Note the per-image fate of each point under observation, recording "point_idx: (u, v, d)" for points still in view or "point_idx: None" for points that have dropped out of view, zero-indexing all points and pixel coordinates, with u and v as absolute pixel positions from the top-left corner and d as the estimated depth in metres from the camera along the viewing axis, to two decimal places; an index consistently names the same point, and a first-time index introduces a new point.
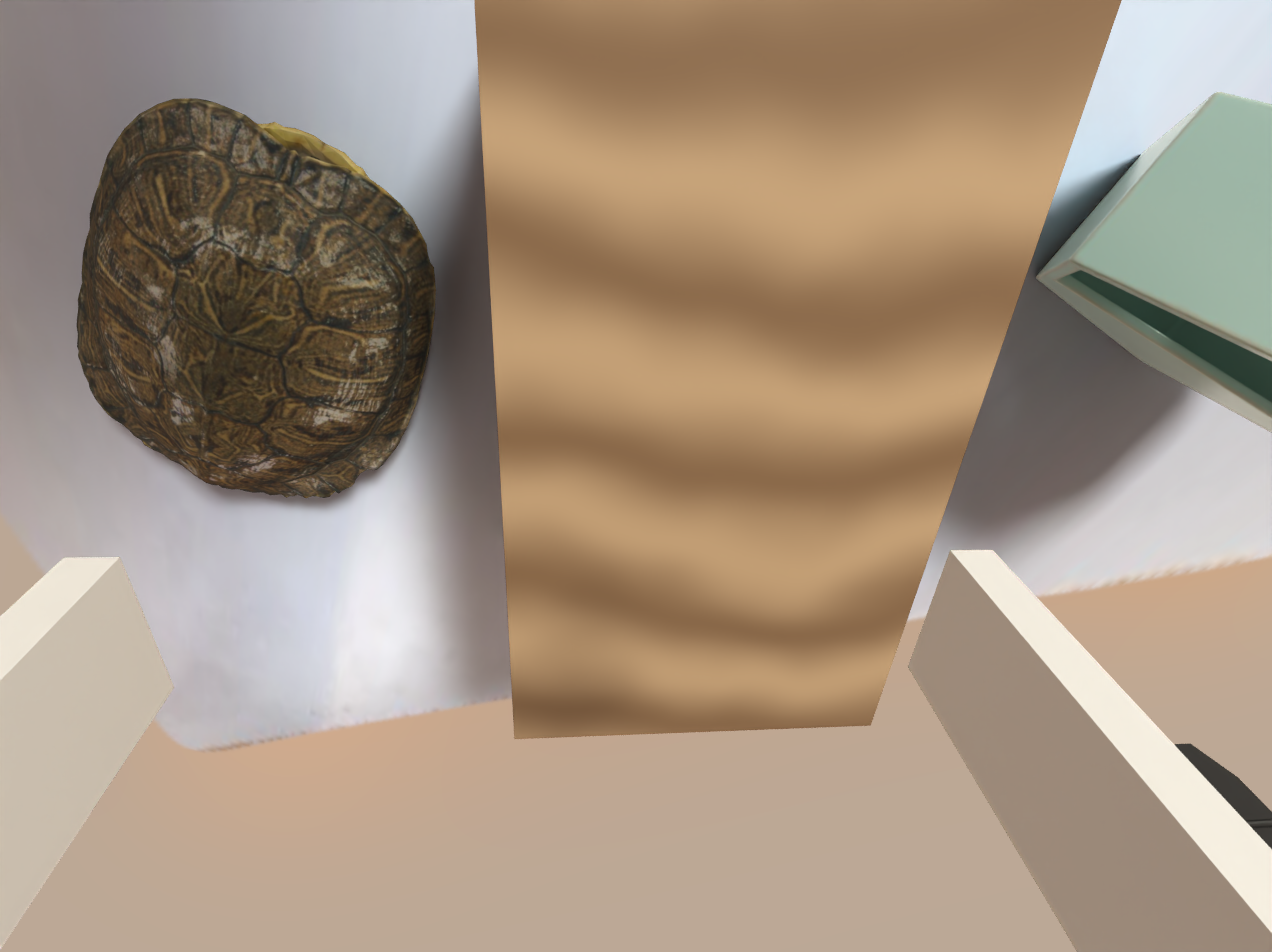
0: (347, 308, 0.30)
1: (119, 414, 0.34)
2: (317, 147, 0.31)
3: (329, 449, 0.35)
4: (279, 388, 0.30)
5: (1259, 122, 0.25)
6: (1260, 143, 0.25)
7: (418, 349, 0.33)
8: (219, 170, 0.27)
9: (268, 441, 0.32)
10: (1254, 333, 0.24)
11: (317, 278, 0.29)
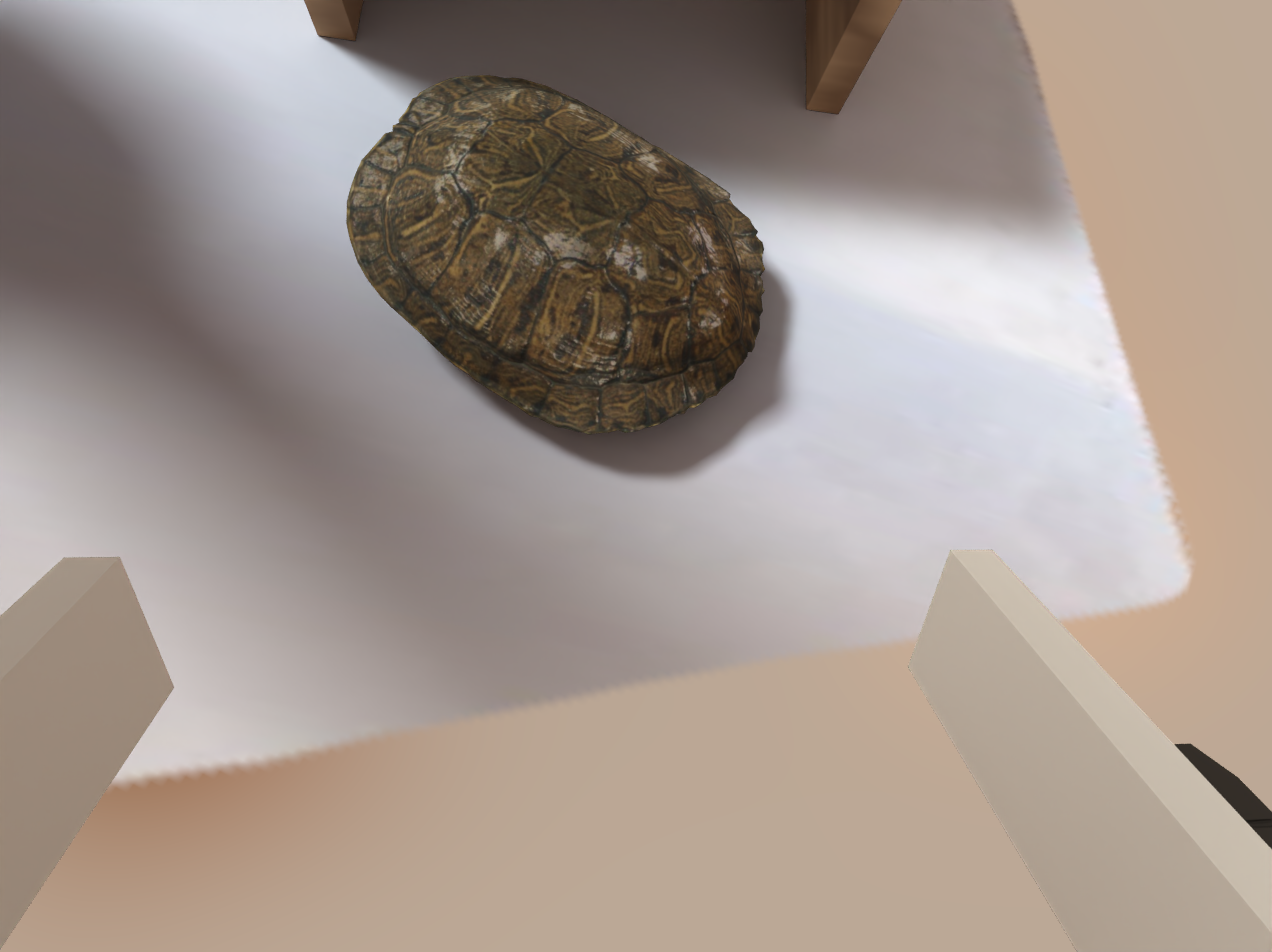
0: (533, 104, 0.30)
1: (655, 410, 0.31)
2: None
3: (695, 195, 0.32)
4: (607, 163, 0.29)
5: None
6: None
7: None
8: (400, 179, 0.29)
9: (671, 206, 0.30)
10: None
11: (499, 108, 0.29)
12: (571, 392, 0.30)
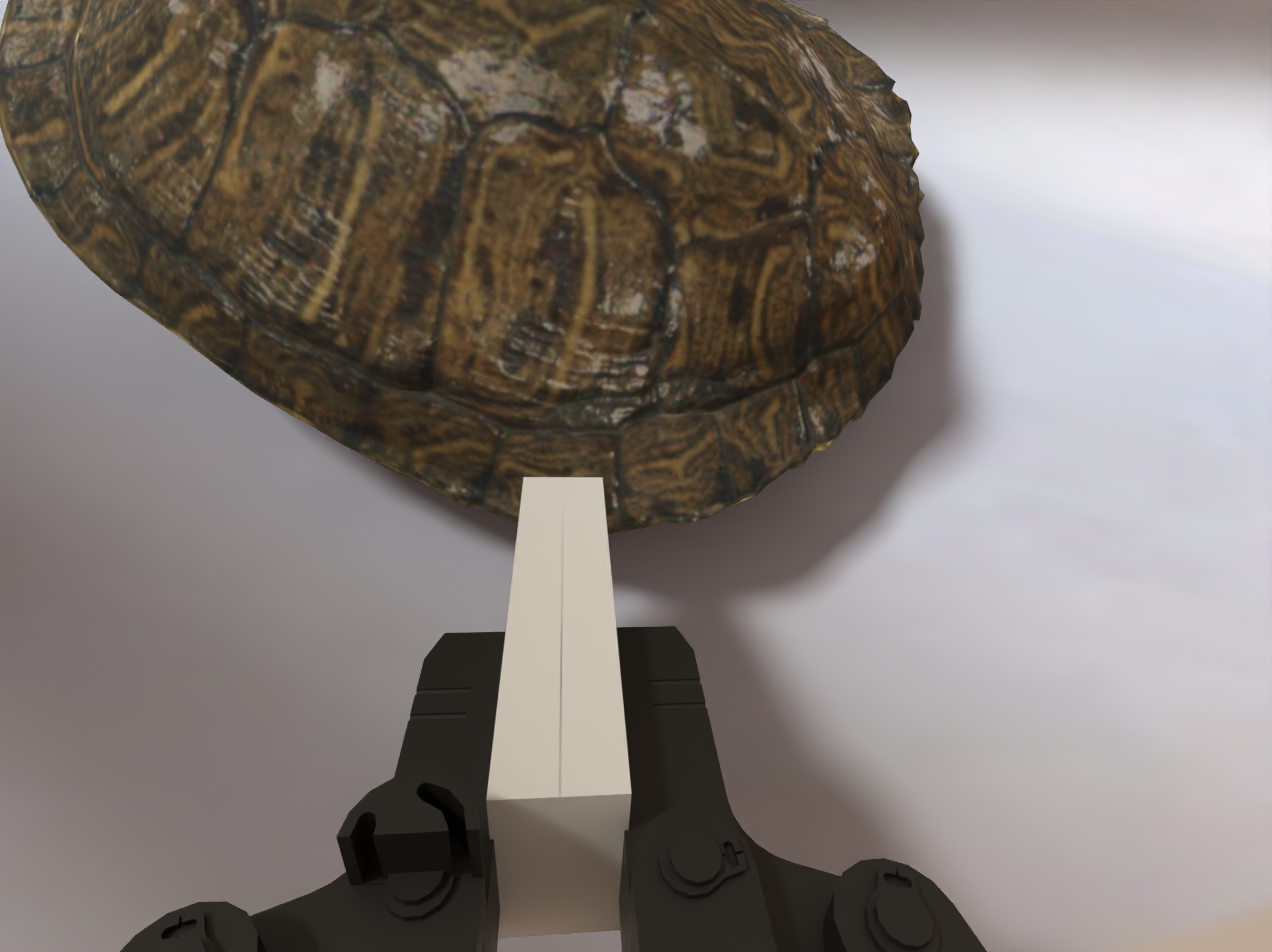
0: None
1: (743, 467, 0.14)
2: None
3: None
4: None
5: None
6: None
7: None
8: None
9: None
10: None
11: None
12: (550, 447, 0.13)
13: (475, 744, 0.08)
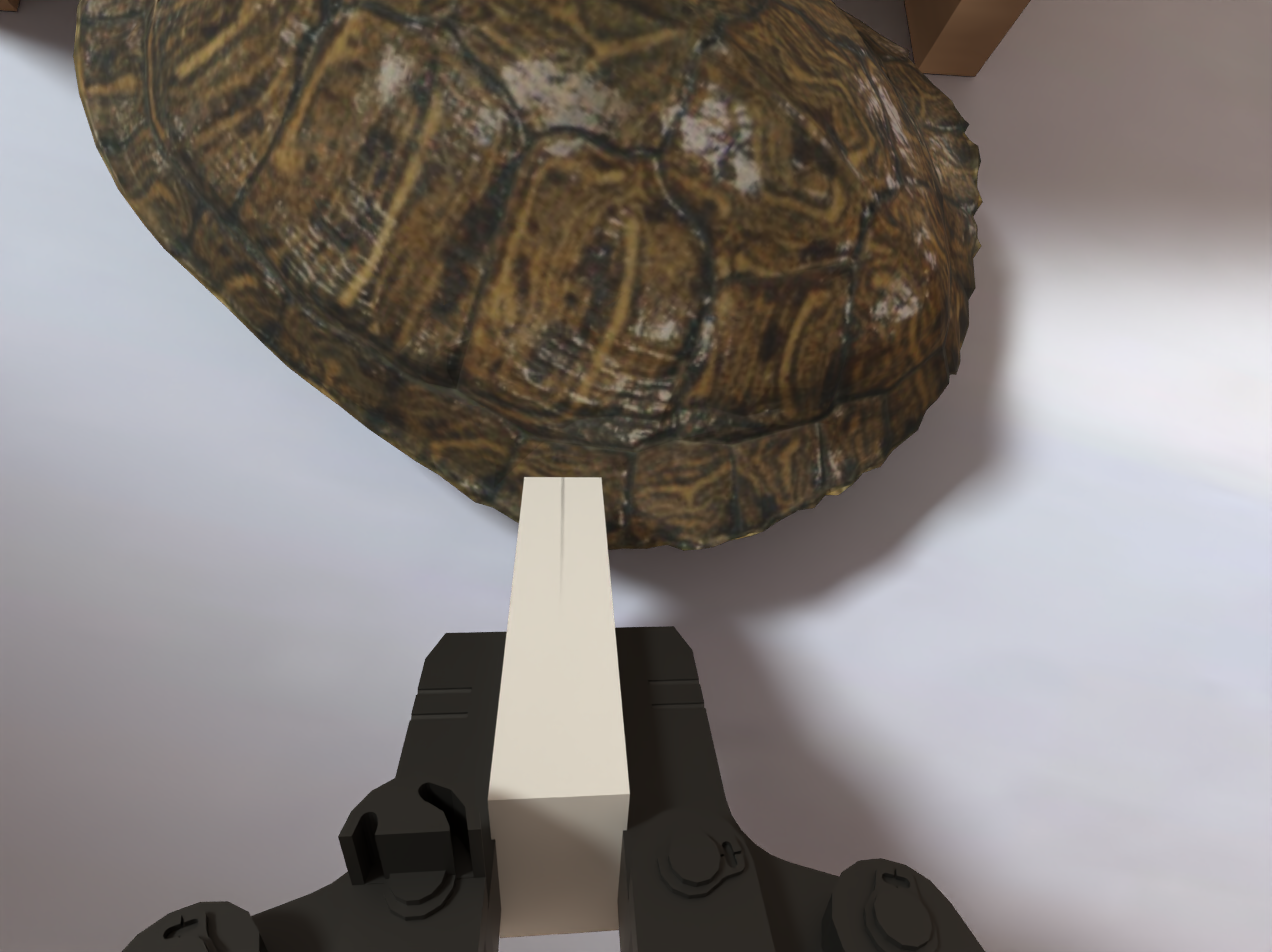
0: None
1: (754, 502, 0.14)
2: None
3: None
4: None
5: None
6: None
7: None
8: None
9: (819, 26, 0.12)
10: None
11: None
12: (565, 457, 0.13)
13: (477, 744, 0.08)
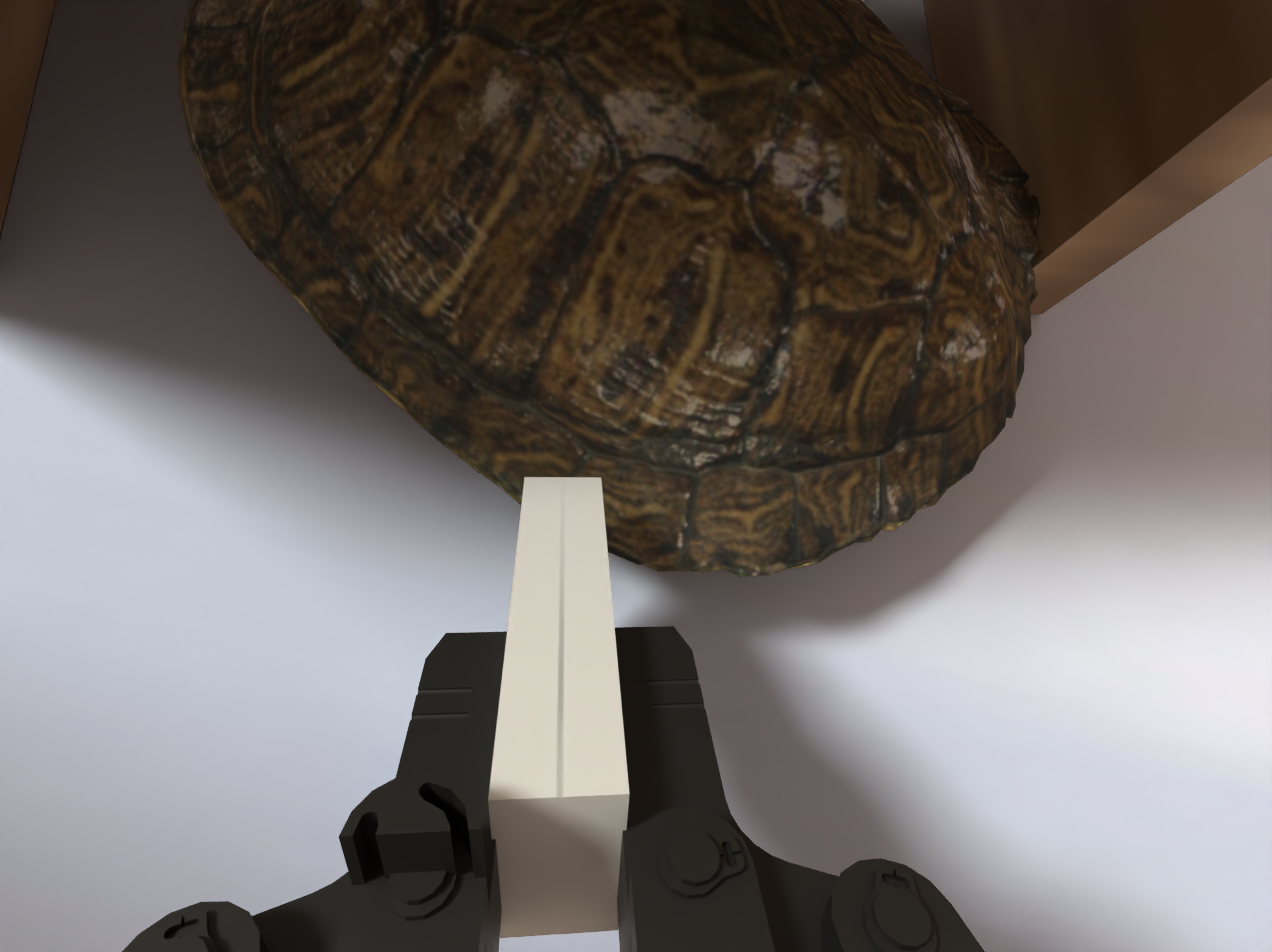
0: None
1: (812, 532, 0.14)
2: None
3: None
4: None
5: None
6: None
7: None
8: None
9: (902, 75, 0.13)
10: None
11: None
12: (629, 476, 0.13)
13: (478, 744, 0.08)
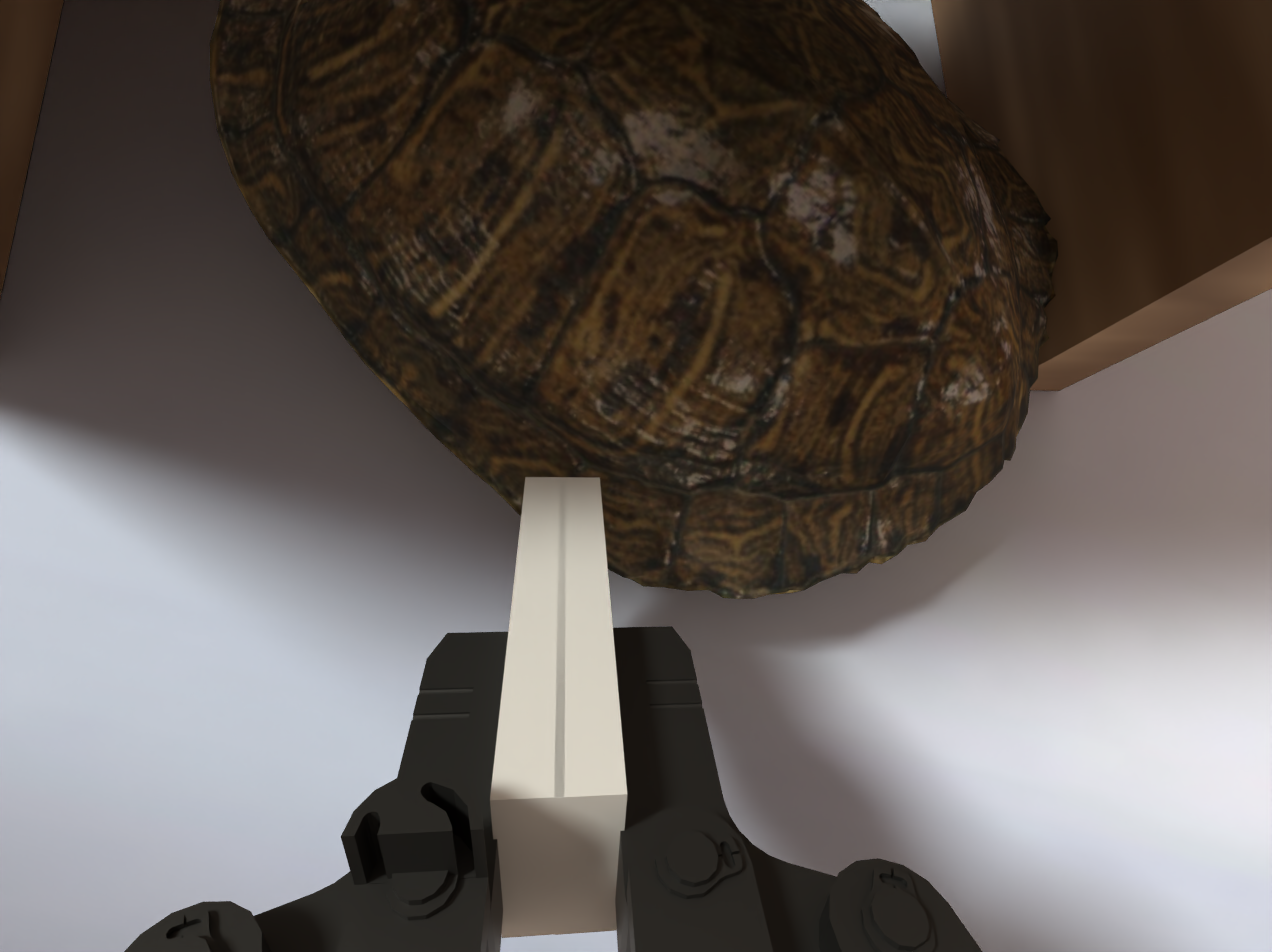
0: None
1: (799, 560, 0.14)
2: None
3: None
4: None
5: None
6: None
7: None
8: None
9: (927, 113, 0.13)
10: None
11: None
12: (621, 490, 0.13)
13: (479, 744, 0.08)
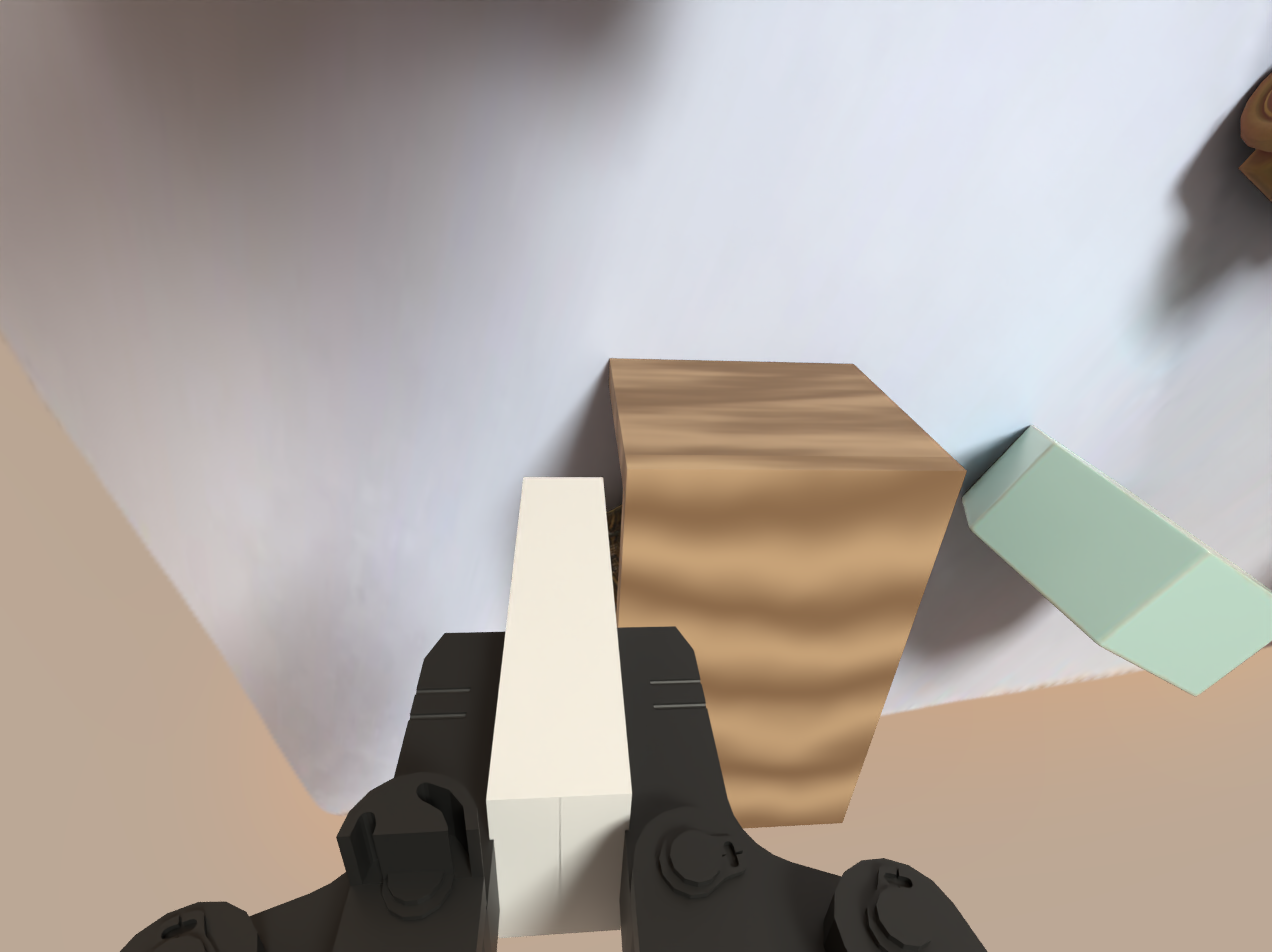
0: None
1: None
2: None
3: None
4: None
5: (1075, 472, 0.41)
6: (1075, 485, 0.41)
7: None
8: None
9: None
10: (1067, 608, 0.40)
11: None
12: None
13: (475, 744, 0.08)
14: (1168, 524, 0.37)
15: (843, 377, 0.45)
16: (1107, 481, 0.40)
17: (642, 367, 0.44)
